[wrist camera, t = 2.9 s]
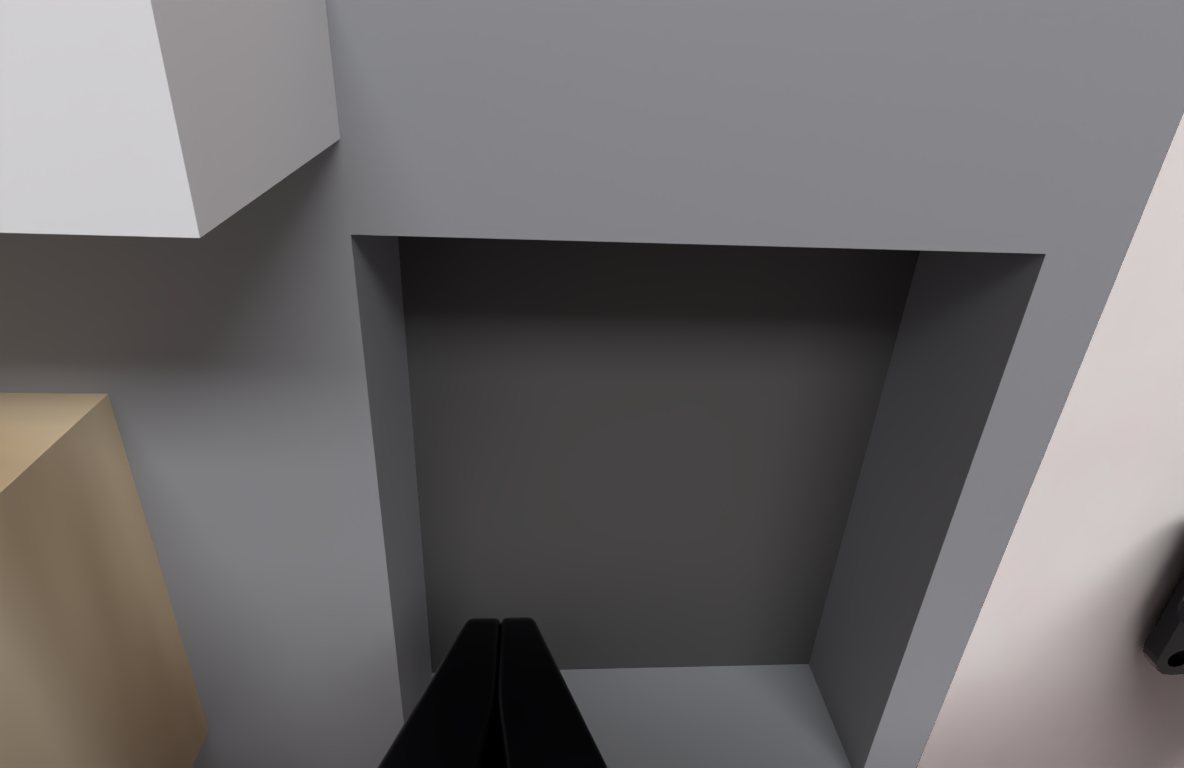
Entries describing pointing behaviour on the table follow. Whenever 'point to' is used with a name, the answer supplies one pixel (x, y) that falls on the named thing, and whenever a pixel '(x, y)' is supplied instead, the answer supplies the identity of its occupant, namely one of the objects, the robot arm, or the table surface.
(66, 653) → the maple block
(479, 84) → the stepped grey tray
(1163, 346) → the table surface
